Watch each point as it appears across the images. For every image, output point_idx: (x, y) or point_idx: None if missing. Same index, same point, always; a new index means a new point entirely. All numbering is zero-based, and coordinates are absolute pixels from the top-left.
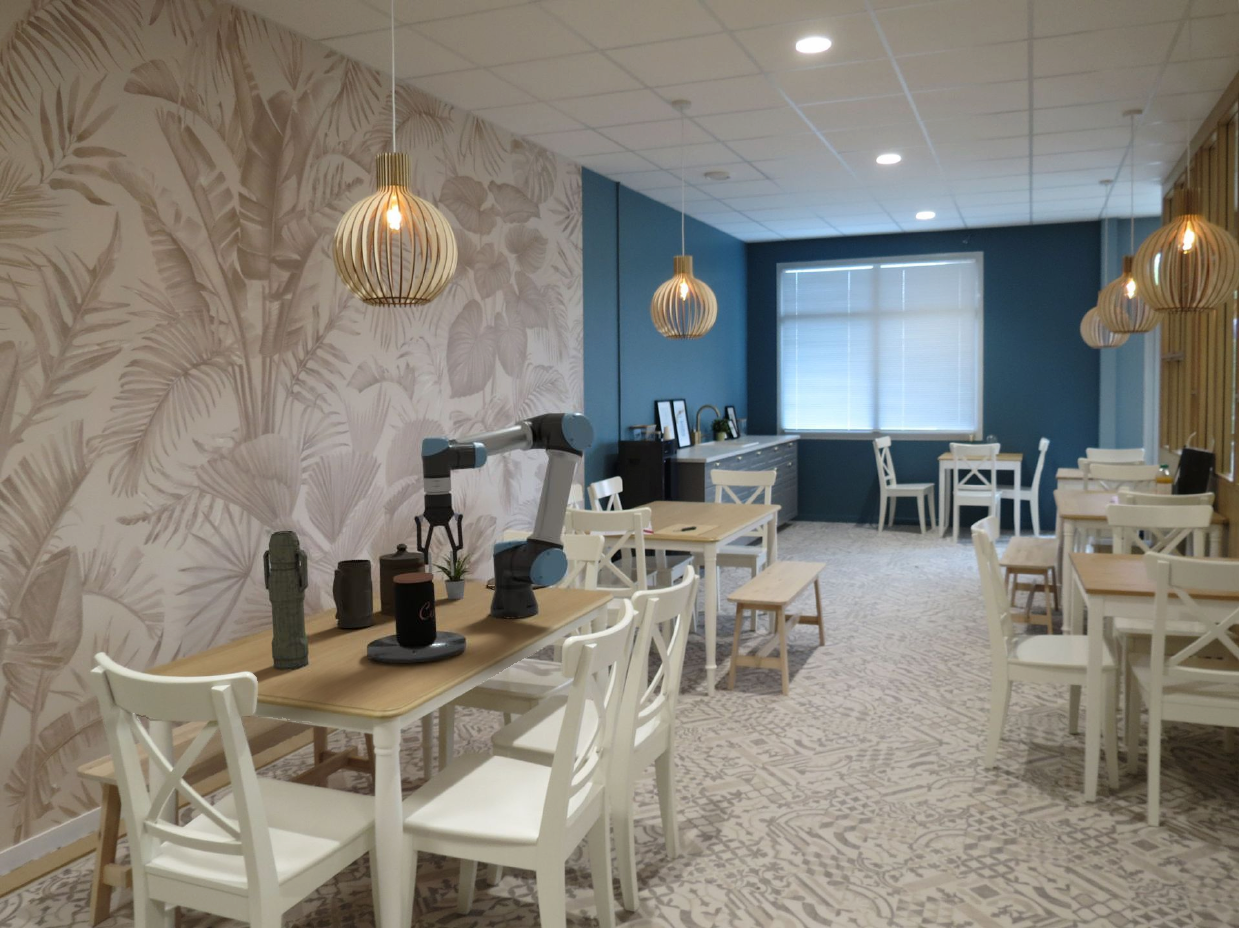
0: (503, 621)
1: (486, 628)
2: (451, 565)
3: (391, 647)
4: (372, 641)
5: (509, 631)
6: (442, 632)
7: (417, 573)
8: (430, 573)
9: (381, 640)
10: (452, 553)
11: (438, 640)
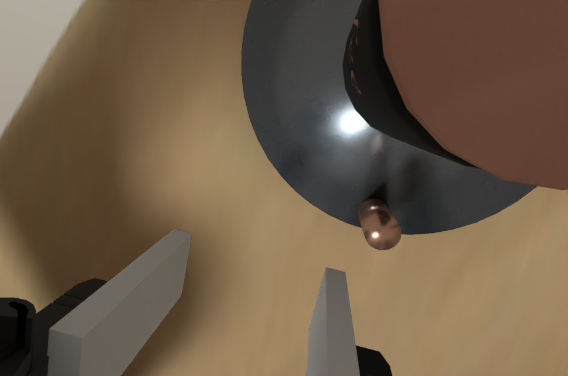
0: None
1: None
2: (151, 262)
3: None
4: None
5: (90, 208)
6: (298, 173)
7: (513, 117)
8: (398, 37)
9: None
10: (61, 322)
11: (336, 57)
